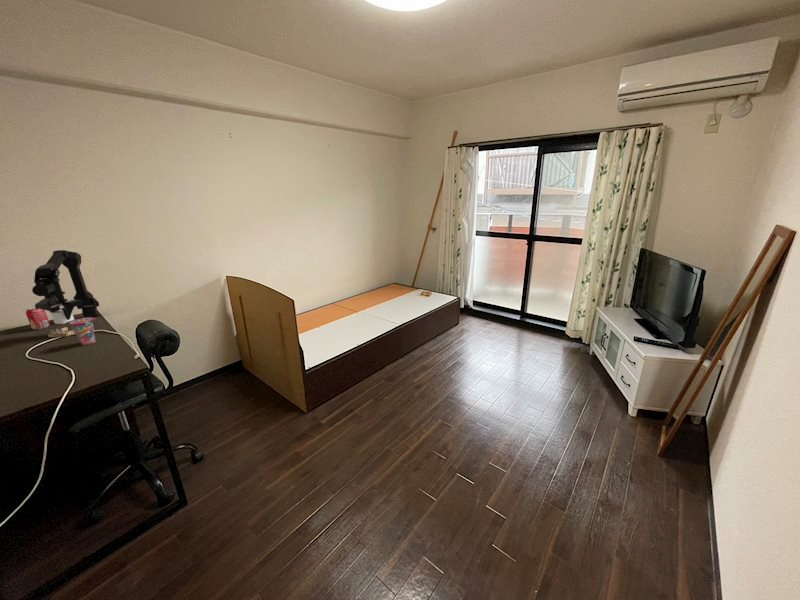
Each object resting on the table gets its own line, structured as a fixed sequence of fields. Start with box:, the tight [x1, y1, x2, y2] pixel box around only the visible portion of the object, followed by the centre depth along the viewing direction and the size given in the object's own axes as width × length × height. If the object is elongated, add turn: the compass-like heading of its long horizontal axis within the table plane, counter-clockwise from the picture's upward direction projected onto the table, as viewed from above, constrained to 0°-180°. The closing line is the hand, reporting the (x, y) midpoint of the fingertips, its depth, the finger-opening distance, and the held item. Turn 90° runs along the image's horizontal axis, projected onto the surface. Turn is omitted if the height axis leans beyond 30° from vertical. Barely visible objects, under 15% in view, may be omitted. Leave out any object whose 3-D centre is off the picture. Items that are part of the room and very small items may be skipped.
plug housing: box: [50, 309, 75, 325], centre depth 169 cm, size 6×4×6 cm
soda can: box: [25, 306, 50, 330], centre depth 178 cm, size 7×7×12 cm
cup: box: [68, 317, 97, 346], centre depth 157 cm, size 9×8×12 cm
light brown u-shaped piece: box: [47, 326, 75, 338], centre depth 170 cm, size 9×9×4 cm
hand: (64, 319), depth 170 cm, fingers closed on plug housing, 4 cm apart
